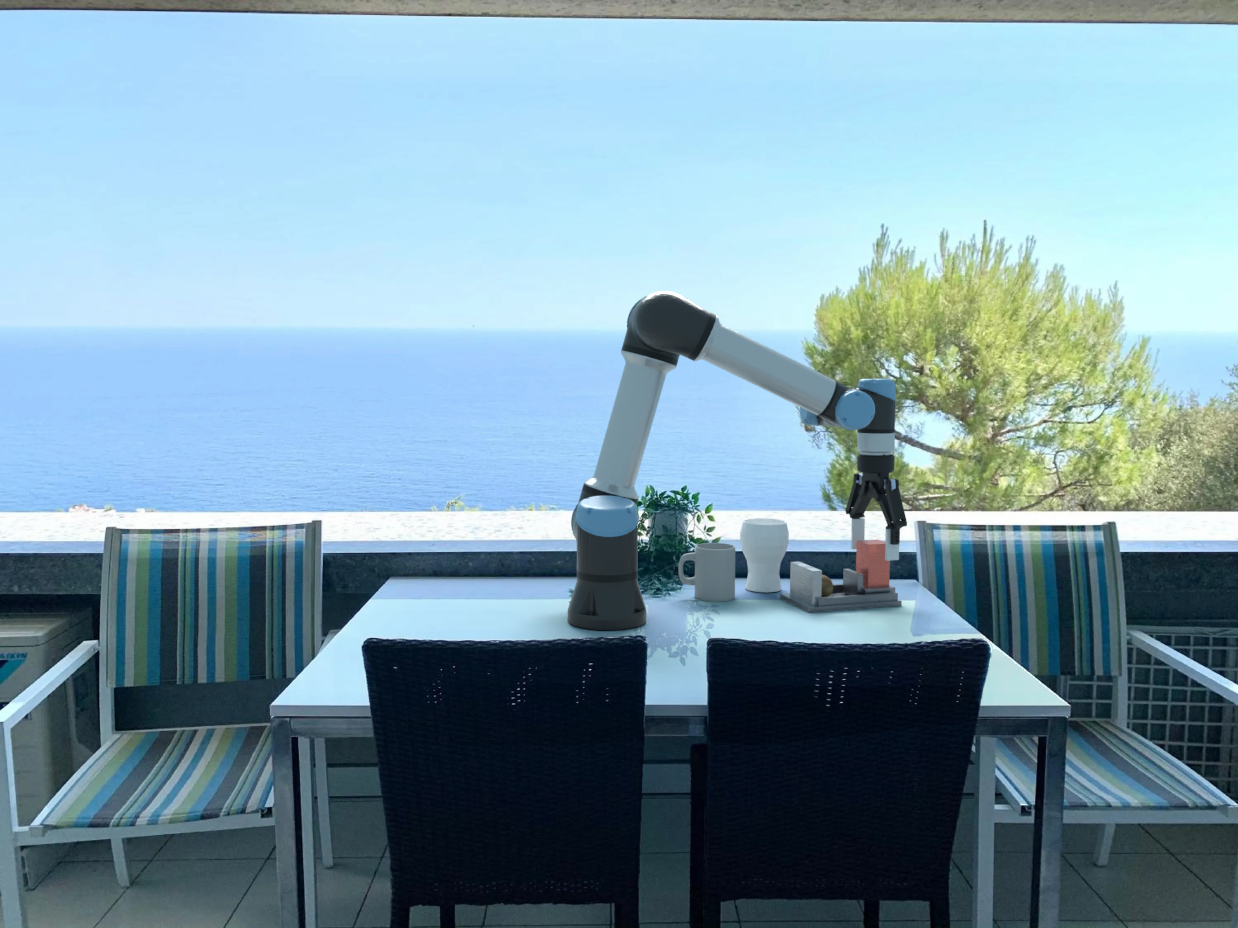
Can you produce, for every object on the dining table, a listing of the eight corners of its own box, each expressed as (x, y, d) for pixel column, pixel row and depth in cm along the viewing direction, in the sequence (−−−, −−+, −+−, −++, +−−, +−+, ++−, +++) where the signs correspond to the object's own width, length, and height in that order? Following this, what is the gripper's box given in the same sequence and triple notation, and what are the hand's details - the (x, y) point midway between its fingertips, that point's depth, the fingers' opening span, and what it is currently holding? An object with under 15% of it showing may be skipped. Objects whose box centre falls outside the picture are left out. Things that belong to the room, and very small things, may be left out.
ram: (859, 599, 210) (861, 546, 209) (840, 591, 218) (841, 539, 217) (895, 596, 212) (896, 544, 211) (874, 588, 220) (876, 538, 219)
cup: (791, 594, 220) (792, 525, 219) (741, 594, 221) (742, 524, 219) (784, 584, 231) (785, 518, 229) (736, 583, 231) (737, 517, 230)
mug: (732, 592, 222) (733, 542, 221) (736, 601, 213) (737, 549, 212) (677, 592, 222) (677, 542, 221) (679, 601, 213) (679, 549, 212)
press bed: (808, 612, 204) (809, 572, 203) (780, 598, 216) (780, 560, 216) (901, 605, 210) (902, 567, 209) (868, 592, 223) (869, 556, 222)
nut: (815, 602, 209) (815, 577, 208) (804, 596, 214) (804, 573, 213) (837, 600, 210) (837, 576, 210) (825, 595, 215) (826, 571, 215)
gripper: (926, 457, 202) (924, 563, 204) (861, 448, 226) (859, 543, 228) (892, 458, 200) (890, 566, 202) (830, 449, 223) (829, 545, 225)
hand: (874, 554), depth 215 cm, fingers open, 13 cm apart
